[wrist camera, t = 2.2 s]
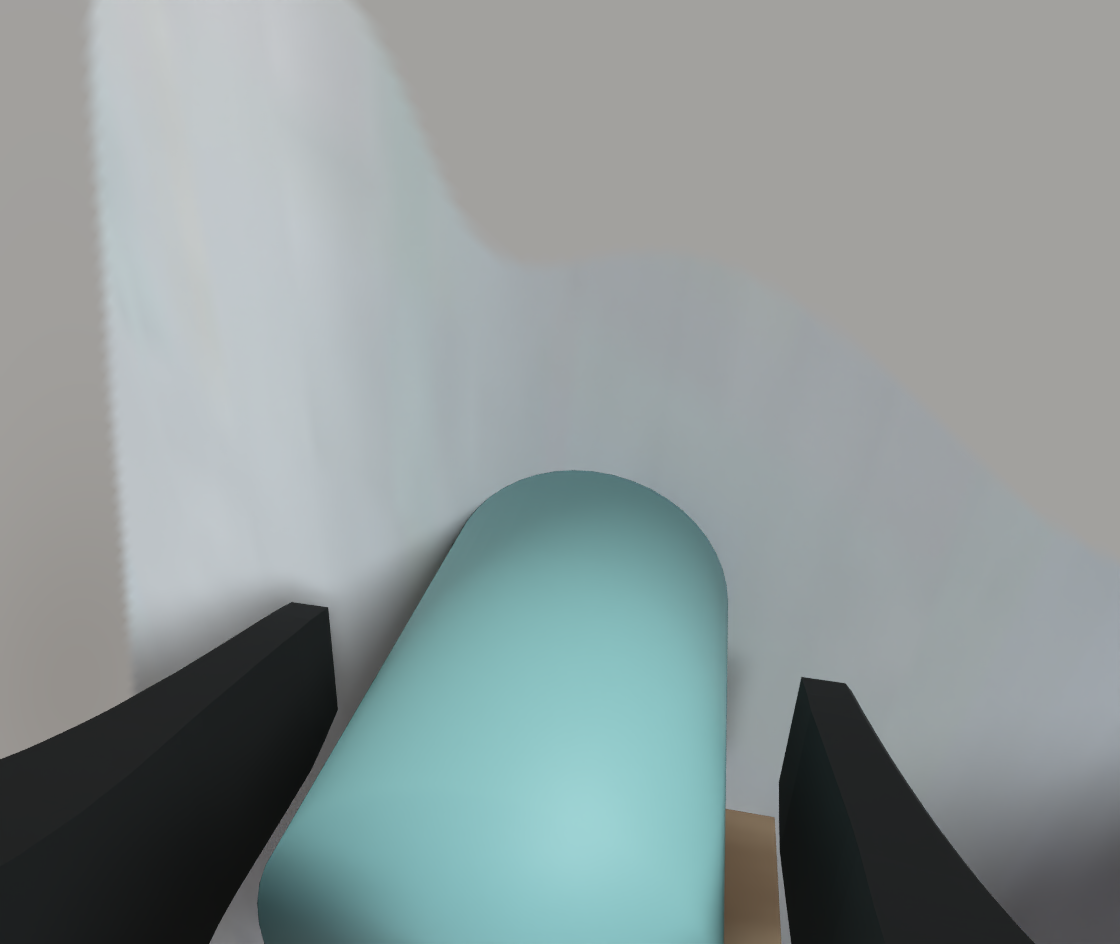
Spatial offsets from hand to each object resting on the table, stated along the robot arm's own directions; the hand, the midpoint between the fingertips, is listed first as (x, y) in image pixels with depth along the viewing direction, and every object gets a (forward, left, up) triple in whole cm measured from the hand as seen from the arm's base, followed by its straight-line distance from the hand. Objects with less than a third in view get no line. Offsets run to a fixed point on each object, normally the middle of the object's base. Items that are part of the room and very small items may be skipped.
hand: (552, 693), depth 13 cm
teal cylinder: (0, 0, -3) cm, 3 cm away
